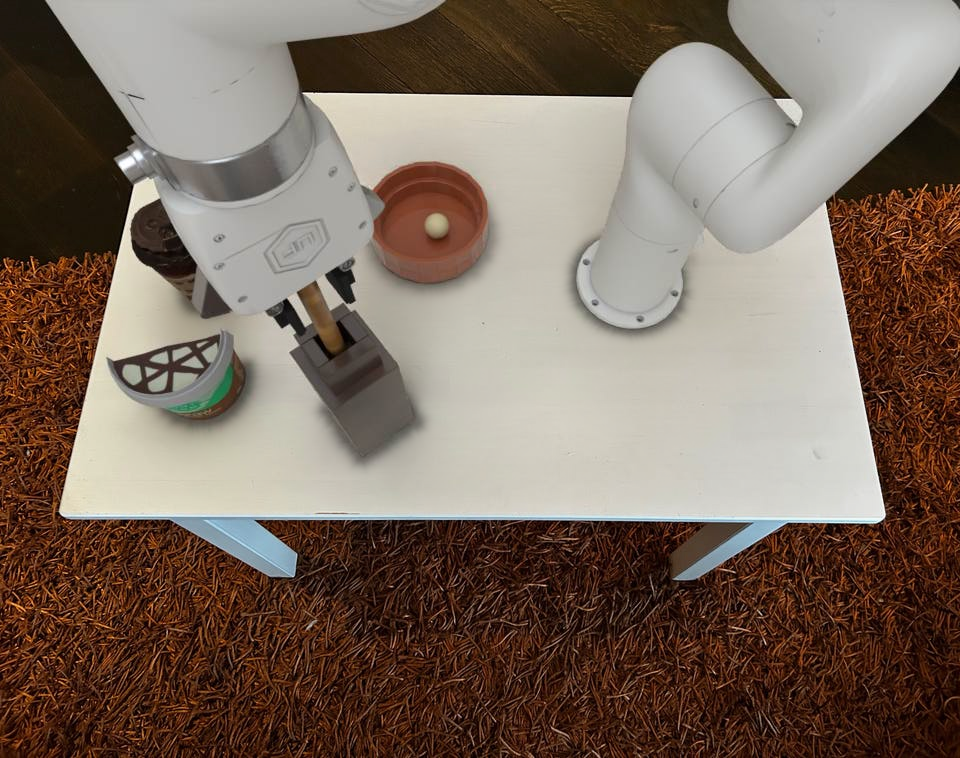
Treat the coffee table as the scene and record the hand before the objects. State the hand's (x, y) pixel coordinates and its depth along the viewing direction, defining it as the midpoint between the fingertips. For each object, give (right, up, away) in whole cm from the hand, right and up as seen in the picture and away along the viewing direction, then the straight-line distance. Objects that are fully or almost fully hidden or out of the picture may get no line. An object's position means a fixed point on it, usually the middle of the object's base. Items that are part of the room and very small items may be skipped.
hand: (316, 303), depth 48 cm
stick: (0, -4, +10) cm, 10 cm away
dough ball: (+7, +13, +31) cm, 34 cm away
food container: (-18, -8, +25) cm, 32 cm away
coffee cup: (-20, +6, +31) cm, 37 cm away
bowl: (+6, +12, +33) cm, 36 cm away
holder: (0, -10, +25) cm, 26 cm away
